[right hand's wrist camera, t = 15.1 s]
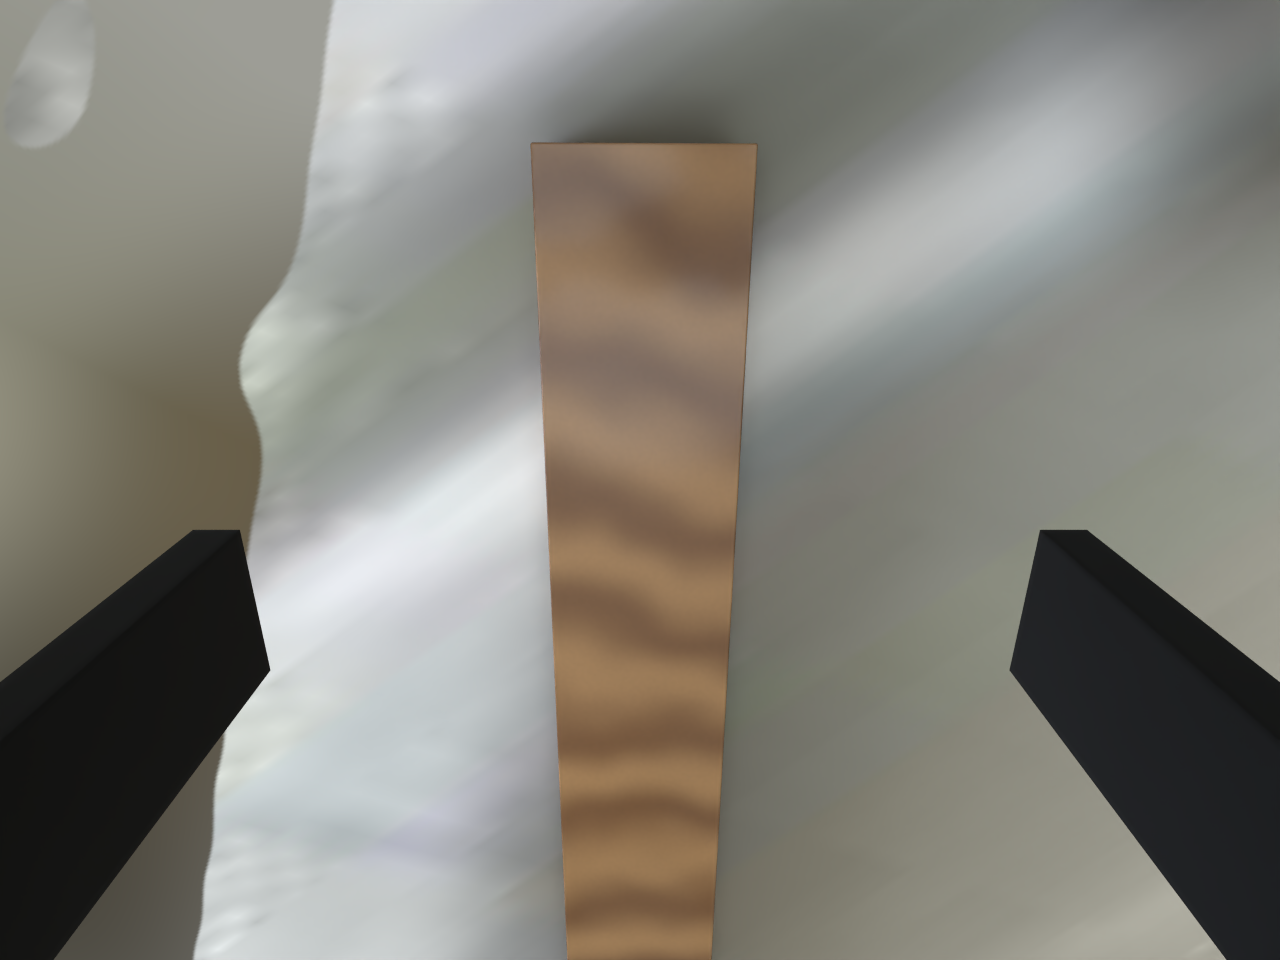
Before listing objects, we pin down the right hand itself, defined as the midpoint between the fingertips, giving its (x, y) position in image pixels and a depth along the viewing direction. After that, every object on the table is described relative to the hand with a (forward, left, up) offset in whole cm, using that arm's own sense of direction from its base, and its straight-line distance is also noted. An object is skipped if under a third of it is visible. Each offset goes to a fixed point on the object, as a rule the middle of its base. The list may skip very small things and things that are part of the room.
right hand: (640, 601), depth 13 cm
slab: (+27, +20, -29) cm, 44 cm away
